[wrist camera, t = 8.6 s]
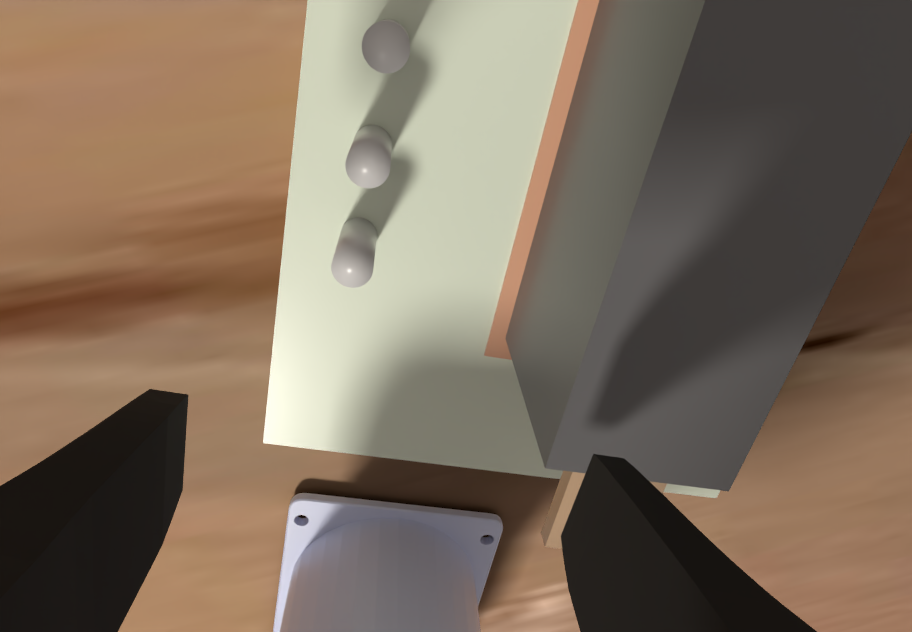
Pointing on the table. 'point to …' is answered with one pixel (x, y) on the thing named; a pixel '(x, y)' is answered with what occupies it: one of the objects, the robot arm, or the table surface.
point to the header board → (418, 226)
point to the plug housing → (700, 225)
